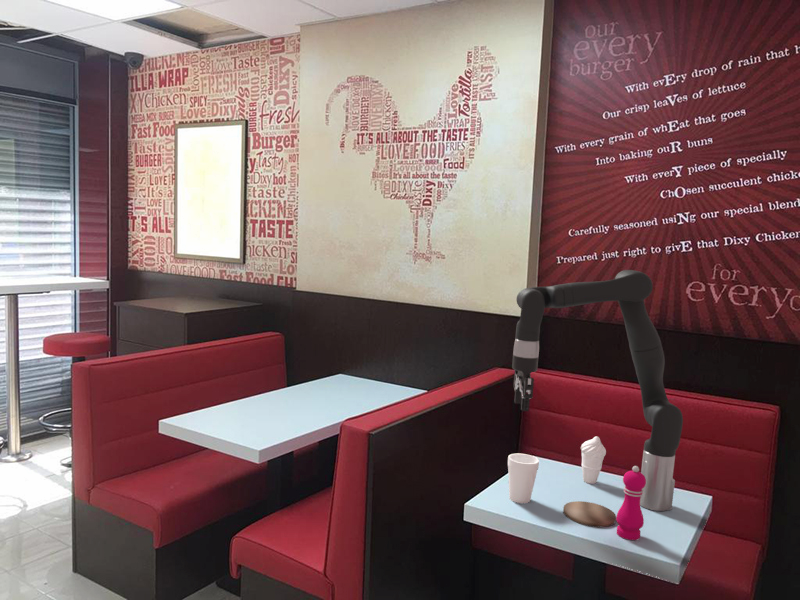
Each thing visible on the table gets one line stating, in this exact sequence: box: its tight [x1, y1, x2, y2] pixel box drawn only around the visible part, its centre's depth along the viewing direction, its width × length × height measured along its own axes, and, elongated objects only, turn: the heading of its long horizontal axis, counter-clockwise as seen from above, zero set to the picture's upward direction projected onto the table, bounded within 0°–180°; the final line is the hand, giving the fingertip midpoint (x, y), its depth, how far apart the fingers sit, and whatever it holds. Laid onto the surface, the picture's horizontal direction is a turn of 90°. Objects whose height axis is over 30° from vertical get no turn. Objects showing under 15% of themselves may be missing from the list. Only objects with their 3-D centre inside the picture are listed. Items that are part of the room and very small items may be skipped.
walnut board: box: [562, 500, 617, 528], centre depth 200 cm, size 15×15×1 cm
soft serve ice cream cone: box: [580, 436, 607, 485], centre depth 227 cm, size 8×8×16 cm
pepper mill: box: [616, 465, 646, 541], centre depth 187 cm, size 7×7×20 cm
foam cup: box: [507, 452, 540, 504], centre depth 207 cm, size 10×9×13 cm
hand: (521, 407), depth 205 cm, fingers open, 8 cm apart
